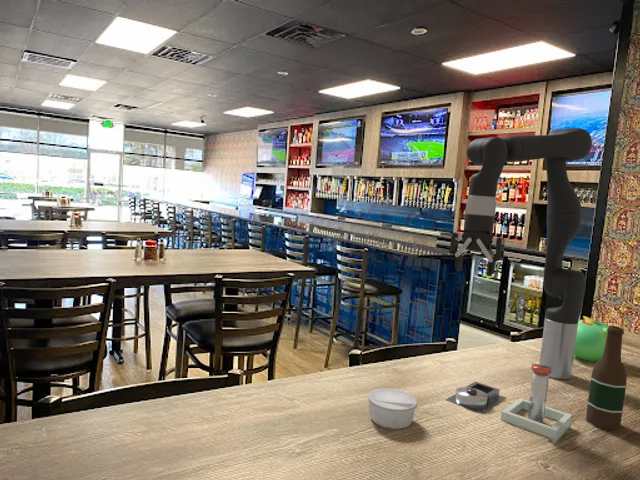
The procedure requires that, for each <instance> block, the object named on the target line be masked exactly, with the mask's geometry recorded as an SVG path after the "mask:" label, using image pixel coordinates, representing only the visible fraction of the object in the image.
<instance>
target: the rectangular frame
mask: <svg viewBox="0 0 640 480" xmlns="http://www.w3.org/2000/svg"><path fill="white" fill-rule="evenodd" d="M529 401H530V400H528V399H524V398H521V397H520V398H518V399H516V401H514V402H512V403H511V404H510V405H509V406H507V407H505V408H504V409H503V410H502V411H501V413H500V414H501V415H500V420H501V421H503V422H505V423H508V424H512V425H514V426H517V427H519V428H521V429H525V430H527V431H530V432H532V433H536V434H538V435H541V436H544V437H547V438H549V439H548V440H547V442H548V443H550V444H553V445H555V444H557V442H558V441H560V439H561V438H562V437H563V436H564V435H565V433H566V432H568V431H569V429H570V428H571V423H572V418H573V417H572V414H570V413H567V412H564V411H560V410H558V409H555V408H551V407H548V406H546V407H545V416H544V418H547V419H551V420H554V421H557V422H556V423H555V424H554V425H553V426H550V425H547V424H545V423H544V424H542V423H539V422H536V421H533V420H531V419H528V417H525V416H521V415H520V414H517V413H519V412H520V411H521V410H524V411H527V412H528V410H529Z"/></svg>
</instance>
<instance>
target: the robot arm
mask: <svg viewBox="0 0 640 480" xmlns="http://www.w3.org/2000/svg"><path fill="white" fill-rule="evenodd" d="M592 146H593V139H592V136H591V134H590V132H589V131H587V130H586V129H584V128H579V127H570V128H557V129H553V130H551V131H550V132H549V133H548V134H545V135H544V134H543V135H541V134H537V135H533V134H532V135H527V134H526V135H510V136H506V137H504V136H503V137H498V136H492V137H491V136H490V137H481V138H475V139H474V140H472V141H471V142H470V143H469V144H468V146H467V148H466V156H467V159H468V160H469V162H471V163H472V164H474V165H478V166H482V167H481V169H480V171H478V172H476V173H474V174H472V175H471V176H470V177H469V178H470V179H469V186H468V196H467V199H466V204H465V215H464V222H463V223H464V225H463V232H462V233H460V232H452V233H451V239H450V244H449V250H448V252H449V254H450V255H453V256H454V257H455V260H454V261H455V262H454V269H455V270H456V272H462V271H463V265H464V264H463V263H464V257H463V256H464V255H465V254H466V253H467V252H468V251H470V252H471V251H472V252H473V251H476V252H479V253H481V252H482V254H483V255H484V256H485V257H486V259H487V263H486V265H487V266H486V272H485V273H486V274H485V275H486V277H492V276H493V275H494V274H495V273H496V272H495V269H496V263H497V262H500V261H503V260H504V258H505V241H506V240H505V238H504V237H494V235H493V234H494V226H495V218H496V208H497V190H498V183H499V179H500V177H501V175H502V172H503V171H504V166H505V164H506V163H518V162H519V163H520V162H528V161H535V160H541V159H543V160H544V159H545V160H544V161H545V167H546V168H545V170H546V182H547V183H546V184H547V189H546V190H547V196H546V197H547V199H546V200H547V201H546V202H547V204H546V205H547V207H546V248H545V249H546V252H545V260H544V261H545V262H544V269H543V279H542V280H543V281H542V282H543V289H544V293H545V294H546V295H548V296H551V297H554V298H559V299H563V302H562V305H560V306H556V307H548V308H547V309H546V311H545V314H544V323H543V332H542V333H543V334H542V339H541V340H542V341H541V349H540V357H539V363H538V364H540V365H545V366H548V367H550V368H551V369H552V370H551V374H549V378H553V379H557V380H558V379H559V380H569V379H571V378H572V373H573V367H574V366H573V365H574V357H575V355H574V351H575V344H576V336H577V328H578V321H579V320H580V316H581V313H582V310H583V302H584V300H585V299H584V298H585V293H586V287H587V279H586V276H585V274H584V272H582V271H580V270H575V269H570V268H565V267H563V260H564V255H565V251H566V250H567V249H568V247H569V245H570V244H571V243H572V241H573V240H574V239H575V237H576V236H577V234H578V232H579V231H580V228H581V225H582V204H581V201H580V198H579V196H578V194H577V193H576V191H575V189H574V187H573V186H572V184H571V181H570V180H569V177H568V176H569V175H568V172H567V171H568V169H567V161H568V162H569V161H571V162H572V161H579V160H582V159H584V158H586V157H587V156H589V155H588V154H589V153H590V152H591V149H592ZM461 239H462V241H463V244H461V246H460V247H459V242H460V241H461ZM492 244H494V246H495V253H494V251H493V249H492V247H491V245H492ZM458 248H459V249H458Z"/></svg>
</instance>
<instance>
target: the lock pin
mask: <svg viewBox="0 0 640 480" xmlns="http://www.w3.org/2000/svg"><path fill="white" fill-rule="evenodd" d="M530 369H531V371H532V375H531V383H530V393H529V400H528V401H529V410H528V411H527V418H528V419H531V420H533V421H536V422H539V423H542V424H545V407H547V405H546V404H547V396H548V388H549V380H550V377H549V374H551V370H552V369H551V368H550V367H548V366H545V365H540V364H539V363H534V364H531V368H530Z"/></svg>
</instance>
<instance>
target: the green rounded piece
mask: <svg viewBox="0 0 640 480" xmlns="http://www.w3.org/2000/svg"><path fill="white" fill-rule="evenodd" d="M582 318H583V319H579V320H578V328H577V336H576V344H575V351H574V357H575V356H576V358H578V359H580V360H584V361H587V362H598V361H599V360H600V359H601V358H602V356H603V353H604V349H605V344H606V339H607V334H608V332H607V328H608V325H606V324H605V323H603V322H601V321H600V320H594V319H592V318H591V317H588V316H585V315H583V316H582ZM619 327H620V328H623V329H624V327H623V326H619Z"/></svg>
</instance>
